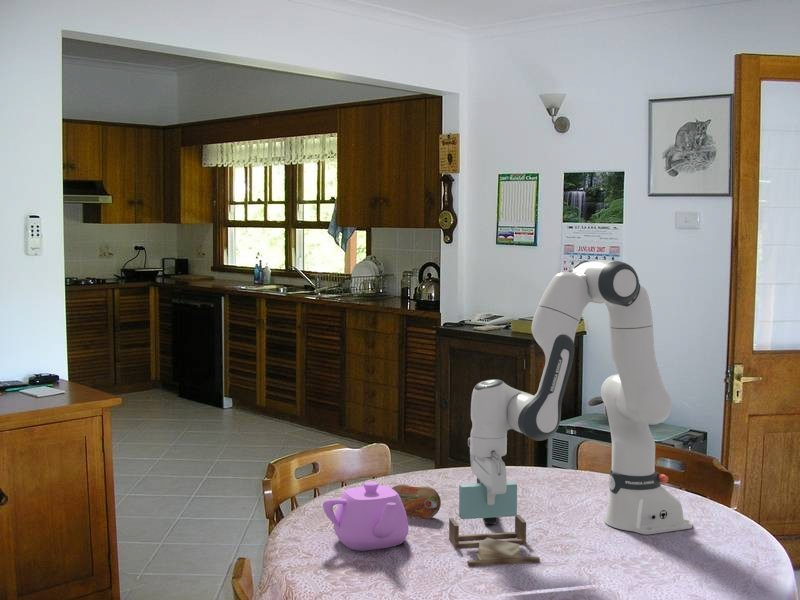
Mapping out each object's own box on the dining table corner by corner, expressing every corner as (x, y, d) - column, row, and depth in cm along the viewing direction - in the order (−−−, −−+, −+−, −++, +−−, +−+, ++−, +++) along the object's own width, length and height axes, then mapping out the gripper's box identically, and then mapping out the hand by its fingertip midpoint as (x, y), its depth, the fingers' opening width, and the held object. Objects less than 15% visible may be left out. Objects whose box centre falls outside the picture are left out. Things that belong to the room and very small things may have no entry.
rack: (518, 537, 223) (518, 514, 223) (541, 564, 206) (542, 539, 205) (449, 541, 220) (449, 518, 220) (466, 568, 203) (466, 543, 202)
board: (513, 512, 221) (514, 481, 220) (516, 516, 218) (517, 484, 218) (459, 515, 218) (459, 484, 218) (461, 519, 216) (461, 487, 215)
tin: (386, 514, 241) (386, 484, 241) (390, 510, 244) (390, 481, 244) (438, 521, 236) (438, 490, 235) (442, 517, 239) (442, 487, 238)
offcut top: (519, 550, 208) (519, 544, 208) (511, 555, 205) (511, 549, 205) (487, 543, 213) (487, 537, 213) (479, 548, 209) (479, 542, 209)
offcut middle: (517, 552, 211) (517, 546, 211) (520, 559, 207) (520, 553, 207) (478, 552, 211) (478, 546, 211) (481, 560, 206) (481, 553, 206)
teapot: (312, 538, 222) (312, 479, 221) (390, 527, 231) (390, 470, 229) (343, 570, 201) (343, 506, 200) (427, 557, 210) (427, 495, 209)
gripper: (513, 456, 207) (512, 514, 208) (490, 436, 227) (489, 489, 228) (487, 457, 206) (486, 515, 207) (466, 437, 226) (465, 490, 227)
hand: (488, 501), depth 218 cm, fingers closed on board, 2 cm apart
